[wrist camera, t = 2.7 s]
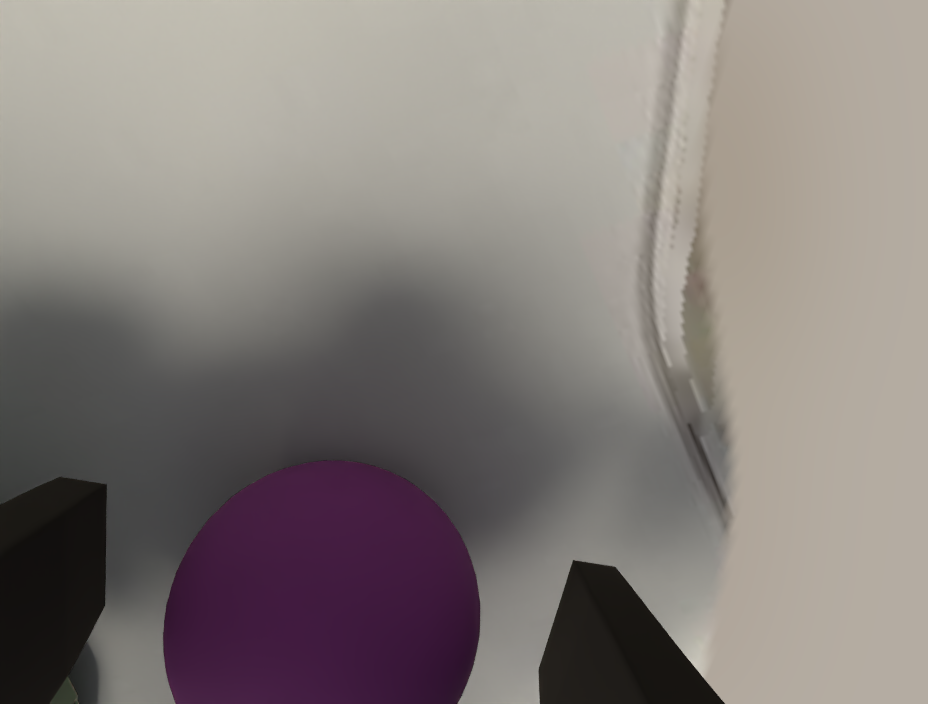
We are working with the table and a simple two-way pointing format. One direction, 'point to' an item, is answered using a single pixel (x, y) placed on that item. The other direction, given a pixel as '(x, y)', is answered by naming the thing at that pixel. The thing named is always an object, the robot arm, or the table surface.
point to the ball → (324, 595)
